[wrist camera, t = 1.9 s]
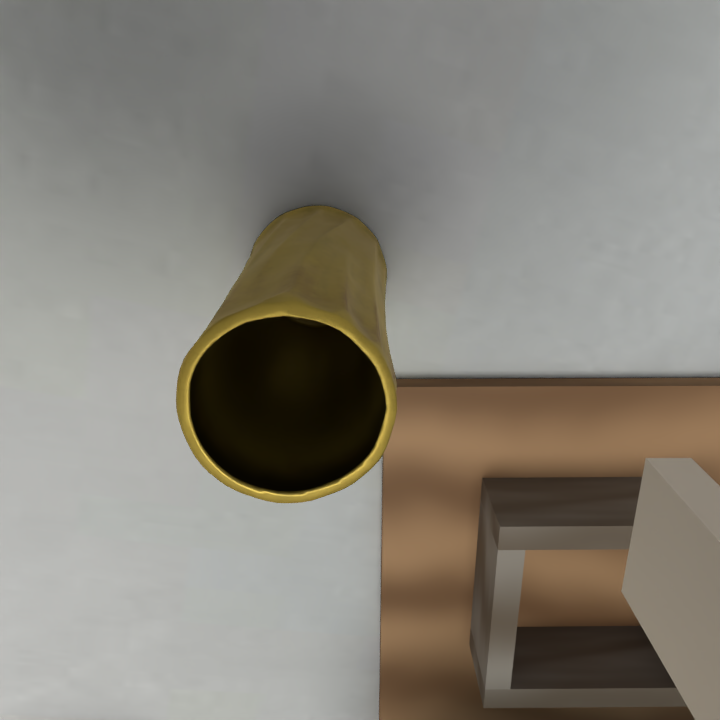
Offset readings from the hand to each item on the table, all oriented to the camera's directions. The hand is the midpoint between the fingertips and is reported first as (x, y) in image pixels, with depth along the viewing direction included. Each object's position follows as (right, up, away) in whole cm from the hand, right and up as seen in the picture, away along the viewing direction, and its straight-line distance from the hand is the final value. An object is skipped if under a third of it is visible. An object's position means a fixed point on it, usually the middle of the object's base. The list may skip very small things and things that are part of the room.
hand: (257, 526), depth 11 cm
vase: (0, +7, +18) cm, 19 cm away
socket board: (+14, -10, +24) cm, 29 cm away
